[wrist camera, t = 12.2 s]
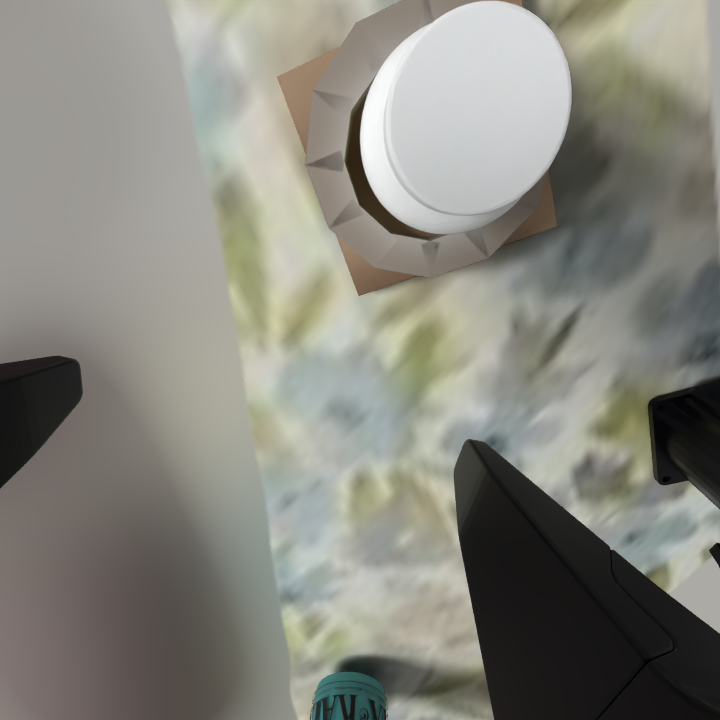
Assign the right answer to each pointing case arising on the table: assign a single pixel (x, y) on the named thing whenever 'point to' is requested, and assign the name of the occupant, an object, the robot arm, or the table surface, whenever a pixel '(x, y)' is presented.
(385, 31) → the collar block
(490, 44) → the supplement bottle
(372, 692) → the beverage bottle
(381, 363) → the table surface
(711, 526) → the table surface
